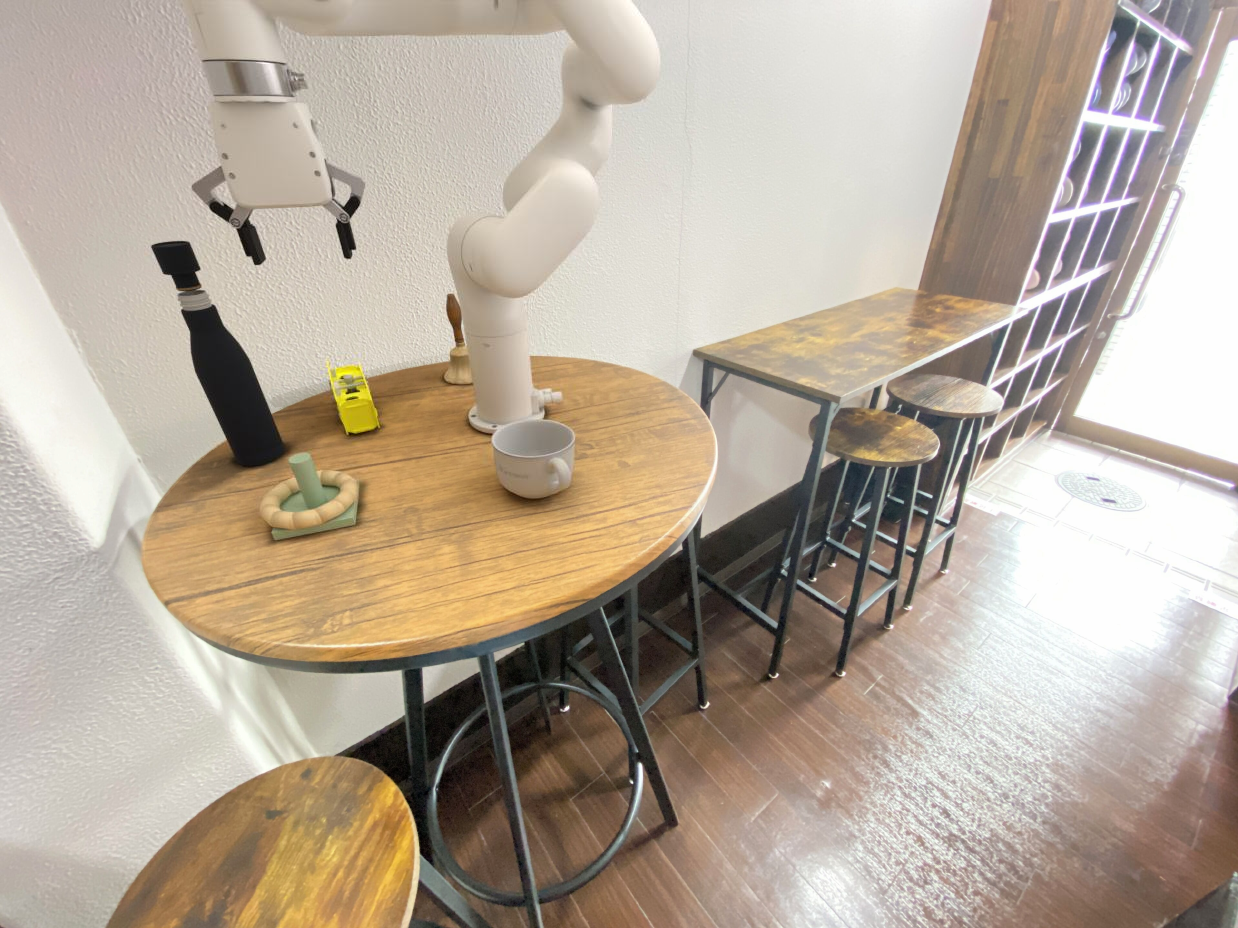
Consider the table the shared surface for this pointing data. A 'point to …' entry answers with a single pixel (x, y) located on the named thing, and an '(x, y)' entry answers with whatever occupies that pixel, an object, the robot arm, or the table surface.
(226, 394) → the black insulated water bottle
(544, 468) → the teacup
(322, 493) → the post
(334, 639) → the table surface
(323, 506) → the ring
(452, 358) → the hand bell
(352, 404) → the yellow toy chassis
